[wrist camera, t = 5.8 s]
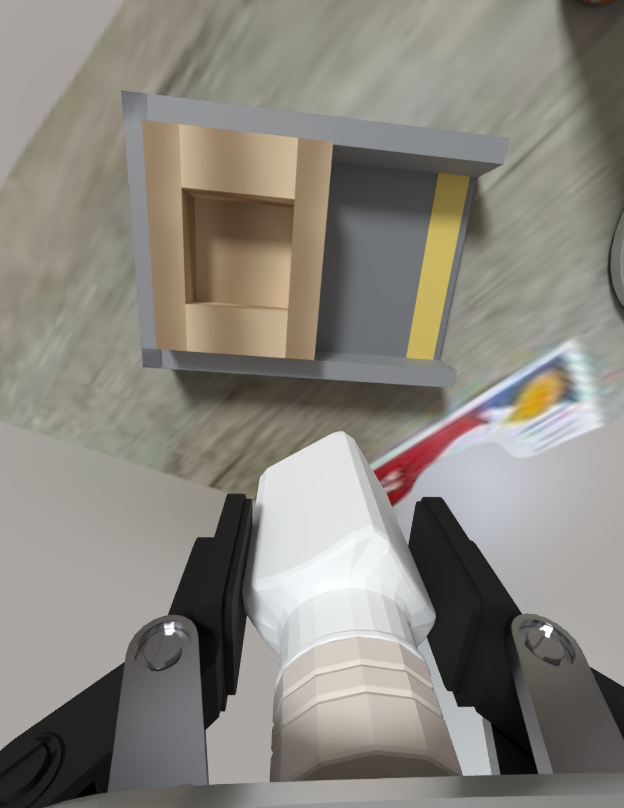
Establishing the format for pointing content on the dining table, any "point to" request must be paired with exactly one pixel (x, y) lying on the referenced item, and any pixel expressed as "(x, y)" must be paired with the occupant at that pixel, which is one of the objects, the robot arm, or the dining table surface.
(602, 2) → the sauce bottle
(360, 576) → the salt shaker
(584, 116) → the dining table surface
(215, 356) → the tray
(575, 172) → the dining table surface
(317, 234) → the shaker cabinet door
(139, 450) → the dining table surface
